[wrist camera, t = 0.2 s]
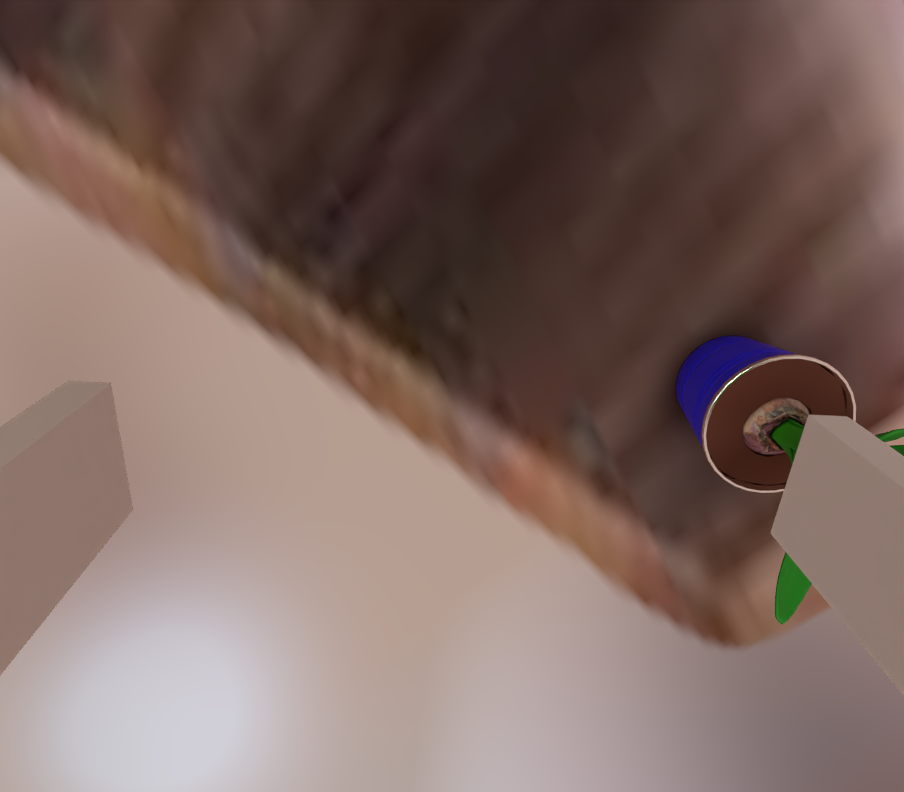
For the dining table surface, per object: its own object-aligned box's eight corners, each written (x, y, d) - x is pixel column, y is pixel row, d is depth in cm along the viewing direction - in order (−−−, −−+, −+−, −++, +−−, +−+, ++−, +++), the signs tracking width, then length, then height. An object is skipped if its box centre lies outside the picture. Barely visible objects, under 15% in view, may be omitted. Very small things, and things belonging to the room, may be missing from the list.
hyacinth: (610, 388, 40) (967, 924, 12) (747, 286, 37) (1605, 657, 9) (684, 479, 42) (1130, 1105, 14) (818, 388, 40) (1676, 928, 12)
